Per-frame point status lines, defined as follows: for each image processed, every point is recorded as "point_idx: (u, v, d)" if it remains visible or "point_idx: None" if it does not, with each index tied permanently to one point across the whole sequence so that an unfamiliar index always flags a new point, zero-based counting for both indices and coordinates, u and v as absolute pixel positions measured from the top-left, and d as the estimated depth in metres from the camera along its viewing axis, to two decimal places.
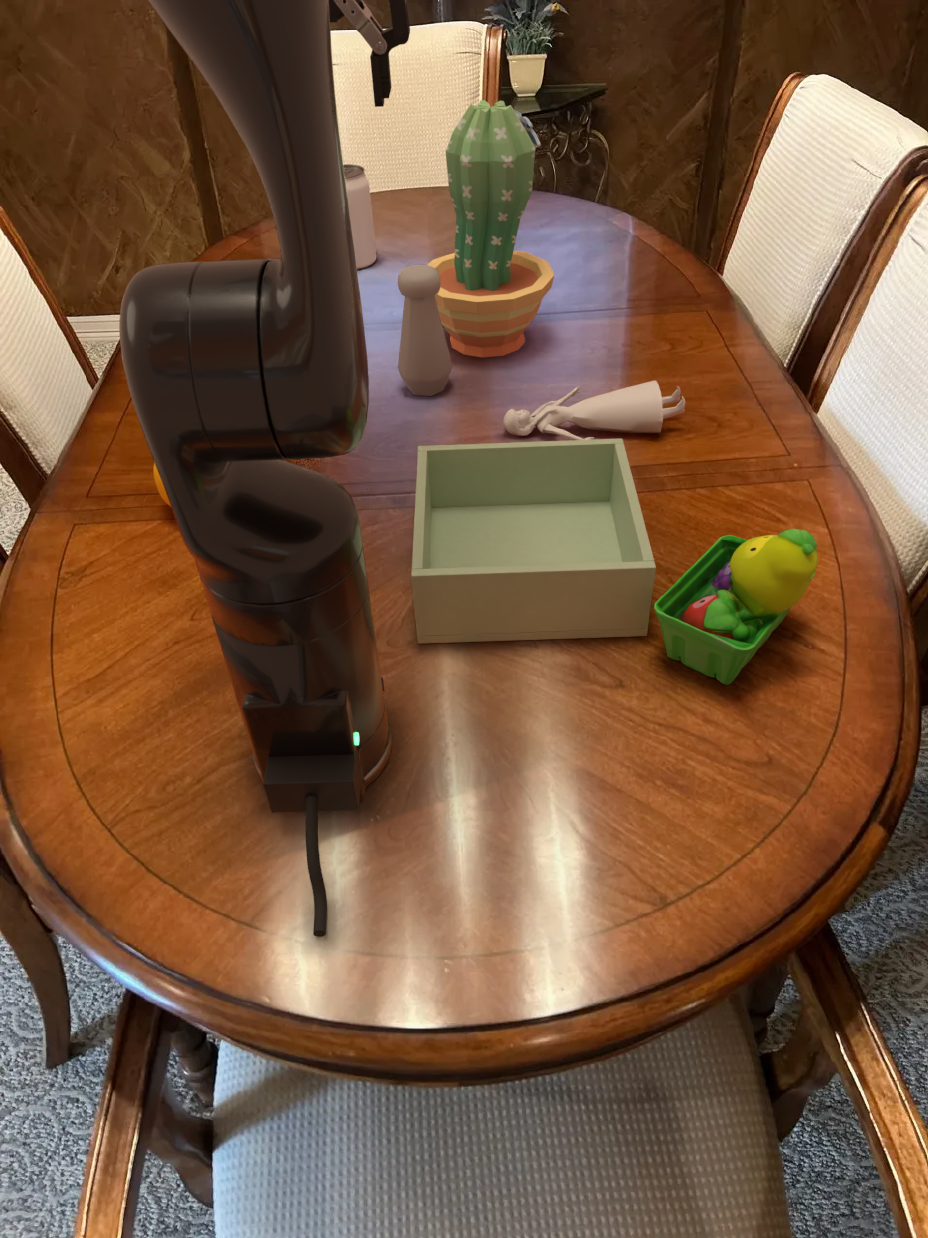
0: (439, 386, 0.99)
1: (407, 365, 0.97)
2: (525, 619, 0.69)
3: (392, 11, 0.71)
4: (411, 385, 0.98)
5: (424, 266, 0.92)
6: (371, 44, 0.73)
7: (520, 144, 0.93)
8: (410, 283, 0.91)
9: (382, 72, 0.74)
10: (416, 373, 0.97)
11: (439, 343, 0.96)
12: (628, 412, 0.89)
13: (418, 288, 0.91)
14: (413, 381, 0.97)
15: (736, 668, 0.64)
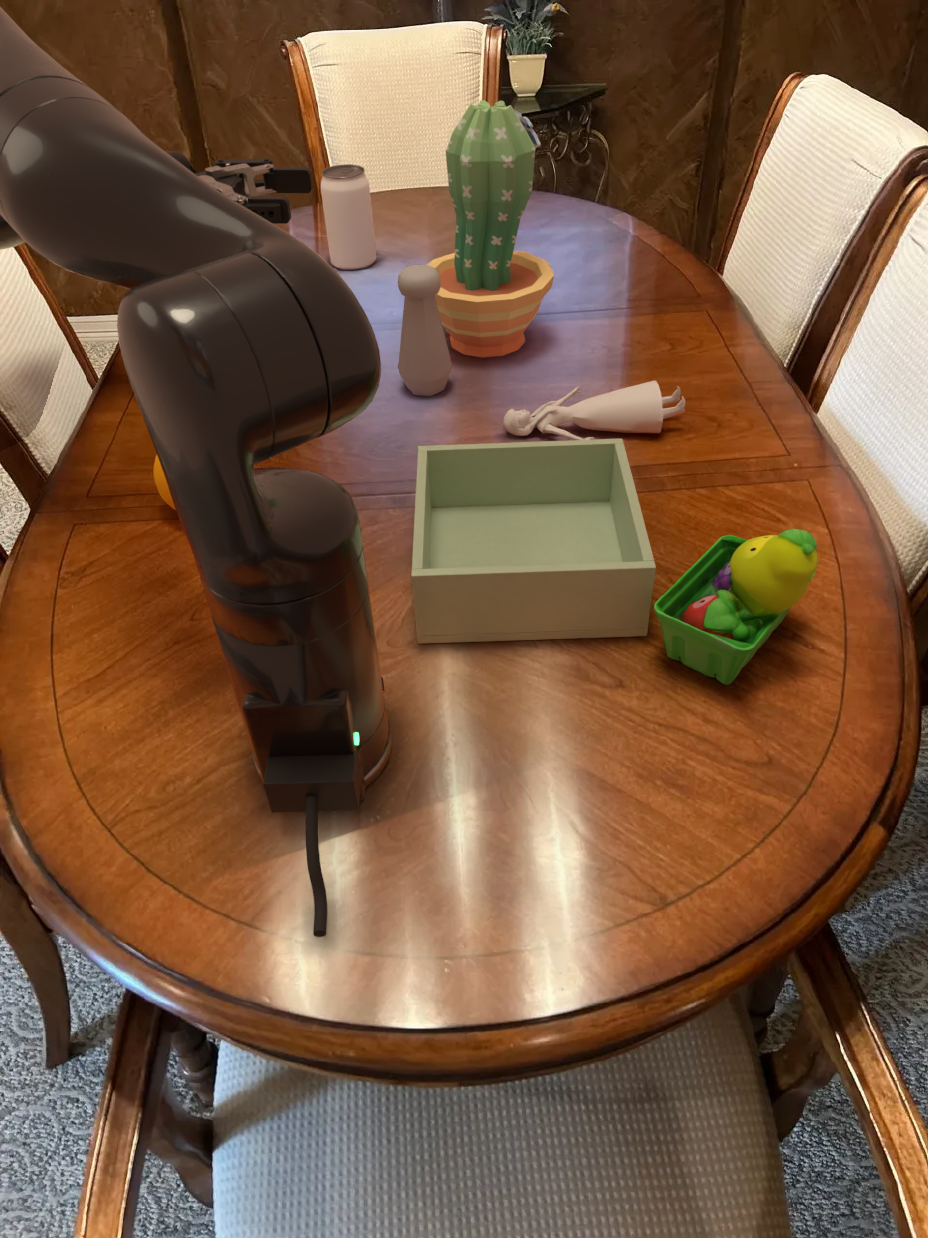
0: (439, 386, 0.99)
1: (407, 365, 0.97)
2: (525, 619, 0.69)
3: (249, 161, 0.93)
4: (411, 385, 0.98)
5: (424, 266, 0.92)
6: (264, 167, 0.91)
7: (520, 144, 0.93)
8: (410, 283, 0.91)
9: None
10: (416, 373, 0.97)
11: (439, 343, 0.96)
12: (628, 412, 0.89)
13: (418, 288, 0.91)
14: (413, 381, 0.97)
15: (736, 668, 0.64)
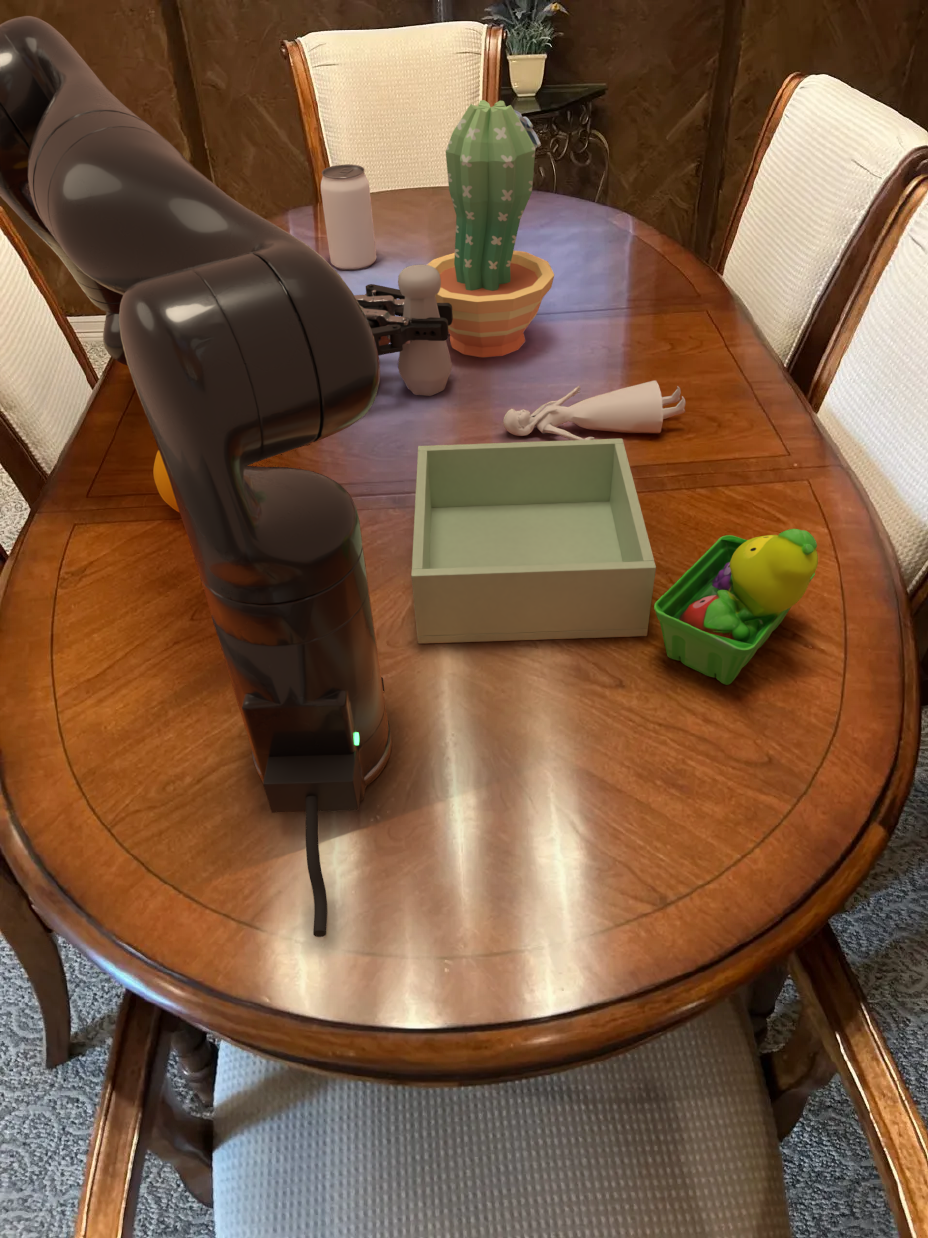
0: (439, 386, 0.99)
1: (408, 365, 0.97)
2: (525, 619, 0.69)
3: (392, 292, 0.98)
4: (411, 385, 0.98)
5: (424, 266, 0.92)
6: None
7: (520, 144, 0.93)
8: (411, 283, 0.91)
9: None
10: (416, 373, 0.97)
11: (439, 343, 0.96)
12: (628, 412, 0.89)
13: (418, 288, 0.91)
14: (413, 381, 0.97)
15: (736, 668, 0.64)
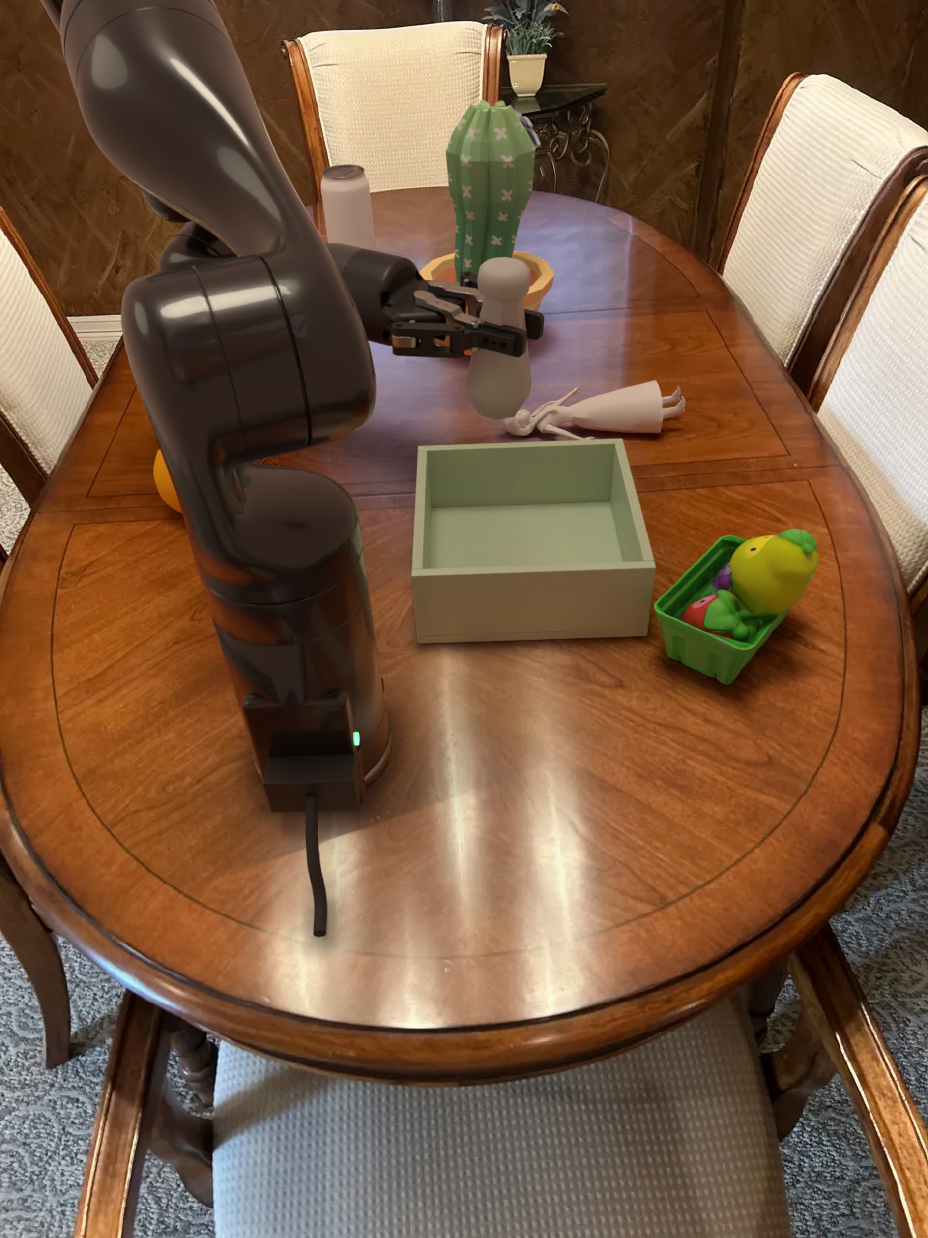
0: (507, 411, 0.80)
1: (472, 377, 0.78)
2: (525, 619, 0.69)
3: None
4: (474, 402, 0.80)
5: (514, 261, 0.73)
6: None
7: (520, 144, 0.93)
8: (487, 278, 0.72)
9: None
10: (479, 389, 0.78)
11: (514, 359, 0.76)
12: (628, 412, 0.89)
13: (495, 286, 0.72)
14: (475, 397, 0.79)
15: (736, 668, 0.64)
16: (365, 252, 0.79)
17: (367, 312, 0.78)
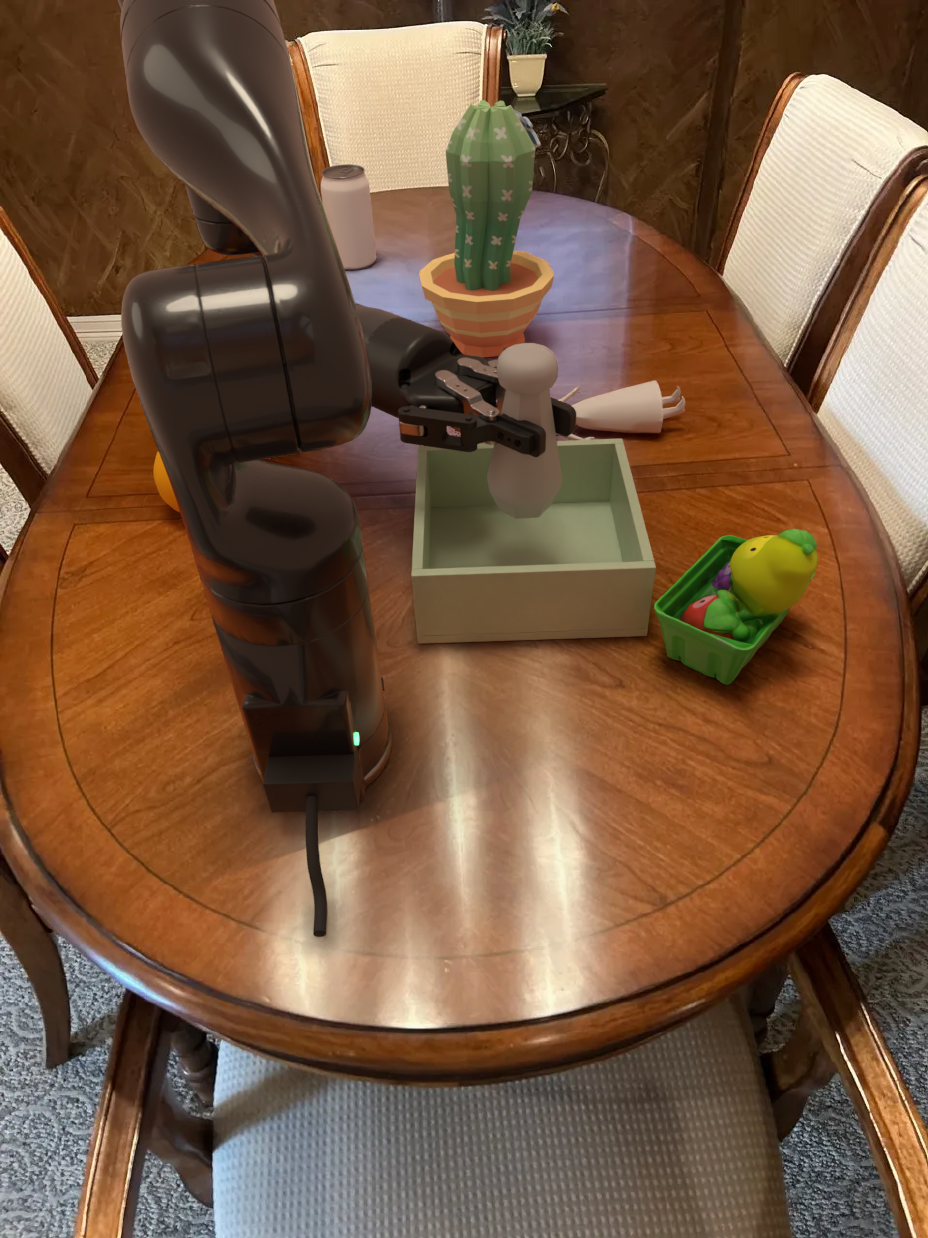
0: (528, 511, 0.70)
1: (491, 471, 0.69)
2: (525, 619, 0.69)
3: None
4: (493, 497, 0.71)
5: (539, 350, 0.64)
6: None
7: (520, 144, 0.93)
8: (504, 368, 0.63)
9: None
10: (496, 485, 0.69)
11: (535, 457, 0.67)
12: (628, 412, 0.89)
13: (511, 378, 0.63)
14: (493, 493, 0.70)
15: (736, 668, 0.64)
16: (395, 322, 0.72)
17: (385, 389, 0.71)
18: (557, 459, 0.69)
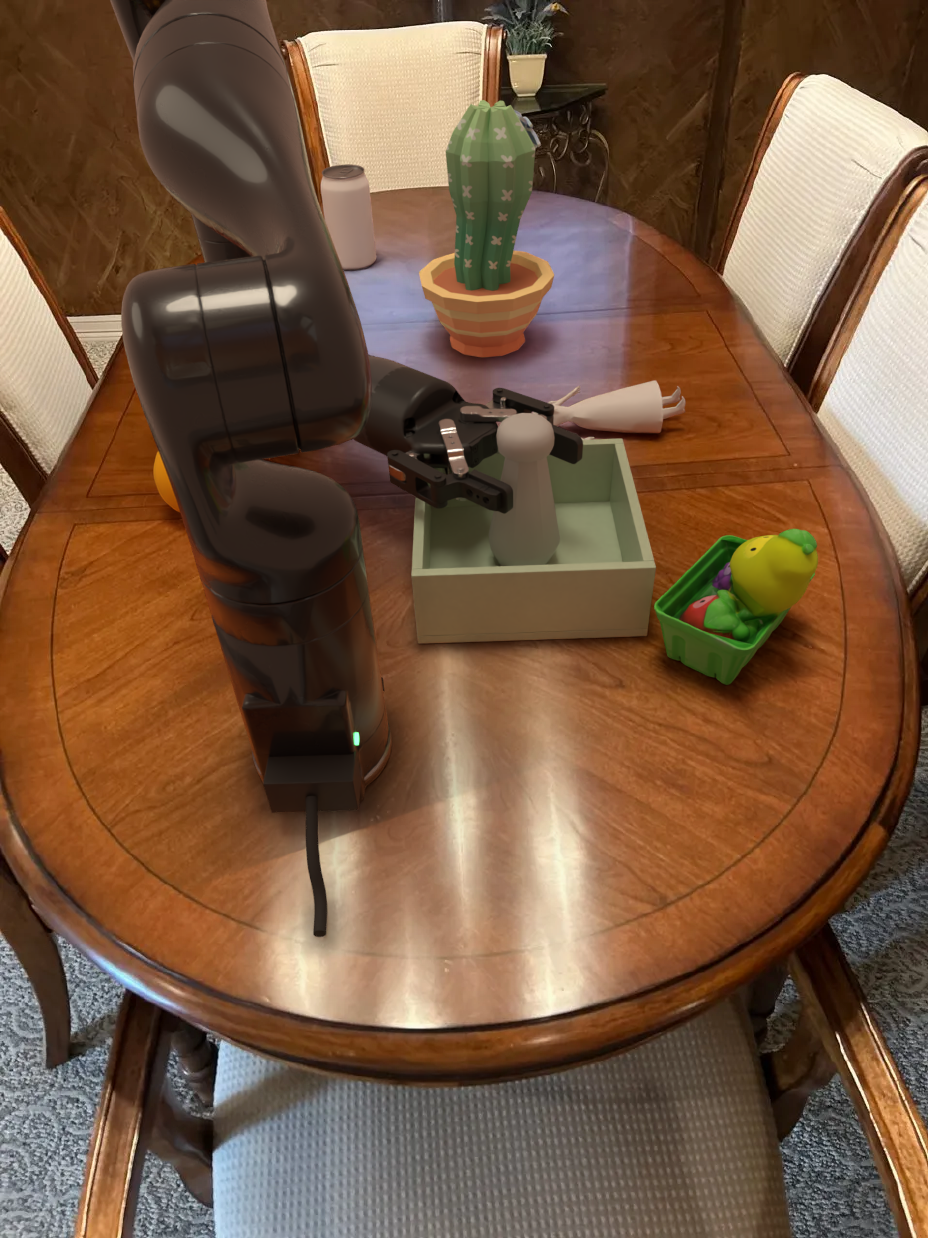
0: None
1: (492, 531, 0.73)
2: (525, 619, 0.69)
3: (527, 403, 0.75)
4: (494, 554, 0.75)
5: (536, 420, 0.68)
6: None
7: (520, 144, 0.93)
8: (503, 439, 0.67)
9: None
10: (497, 545, 0.73)
11: (534, 519, 0.71)
12: (628, 412, 0.89)
13: (509, 448, 0.67)
14: (494, 551, 0.74)
15: (736, 668, 0.64)
16: (400, 372, 0.74)
17: (391, 436, 0.73)
18: (555, 519, 0.73)
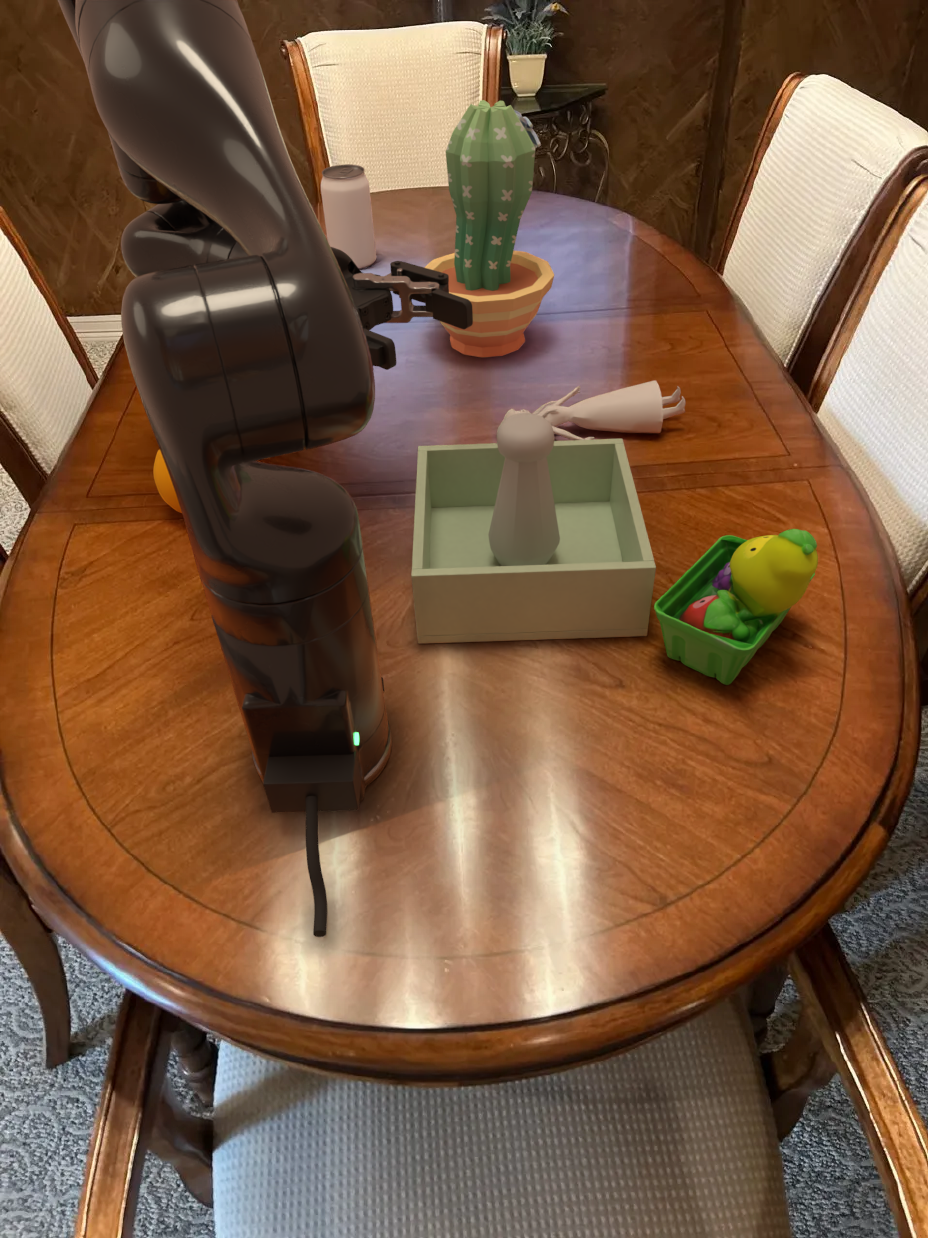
0: None
1: (492, 531, 0.73)
2: (525, 619, 0.69)
3: (422, 273, 0.75)
4: (494, 554, 0.75)
5: (536, 420, 0.68)
6: (425, 287, 0.73)
7: (520, 144, 0.93)
8: (503, 439, 0.67)
9: None
10: (497, 545, 0.73)
11: (534, 519, 0.71)
12: (628, 412, 0.89)
13: (509, 448, 0.67)
14: (494, 551, 0.74)
15: (736, 668, 0.64)
16: None
17: None
18: (555, 519, 0.73)
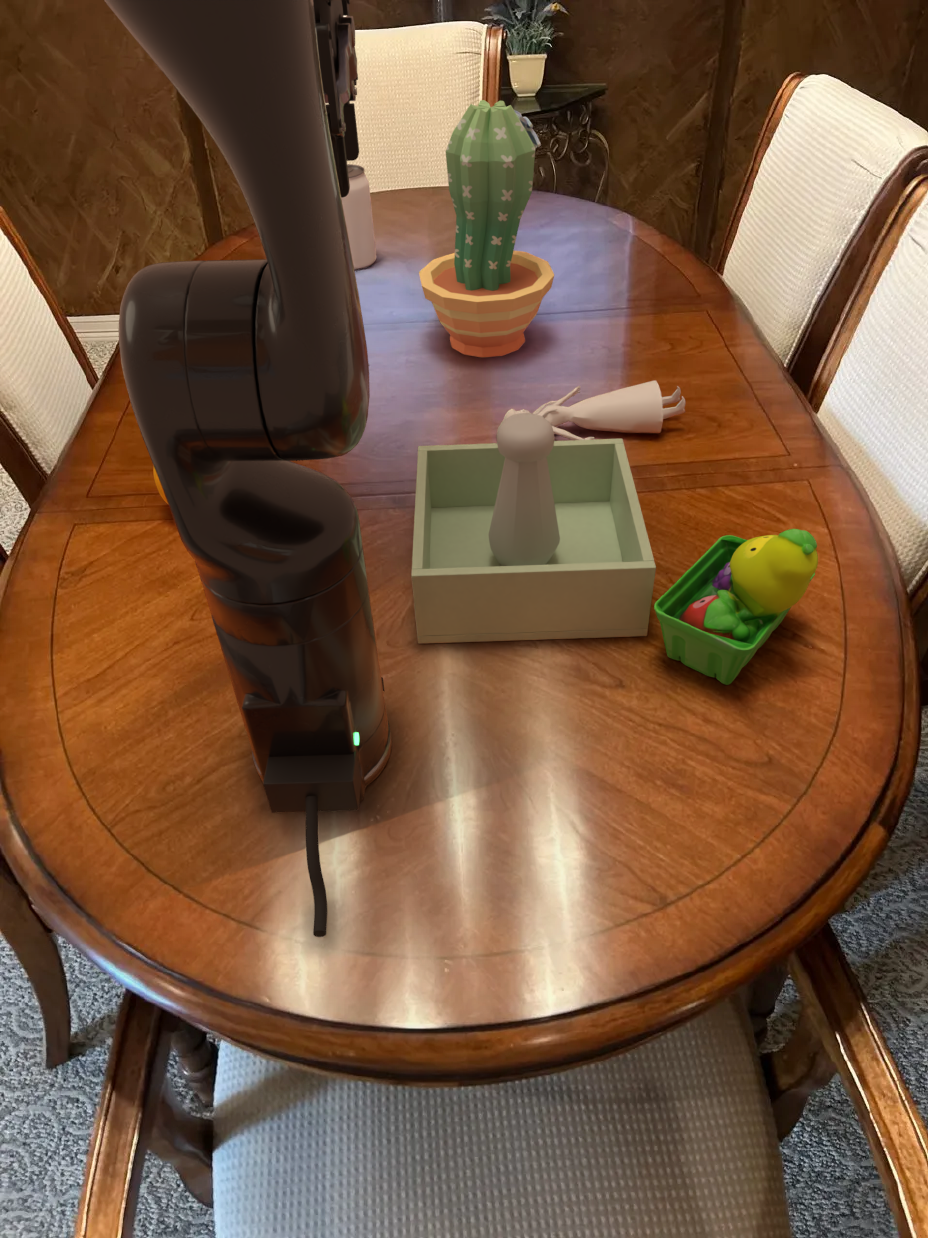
0: None
1: (492, 531, 0.73)
2: (525, 619, 0.69)
3: None
4: (494, 554, 0.75)
5: (536, 420, 0.68)
6: (353, 91, 0.66)
7: (520, 144, 0.93)
8: (503, 439, 0.67)
9: None
10: (497, 545, 0.73)
11: (534, 519, 0.71)
12: (628, 412, 0.89)
13: (509, 448, 0.67)
14: (494, 551, 0.74)
15: (736, 668, 0.64)
16: None
17: None
18: (555, 519, 0.73)
